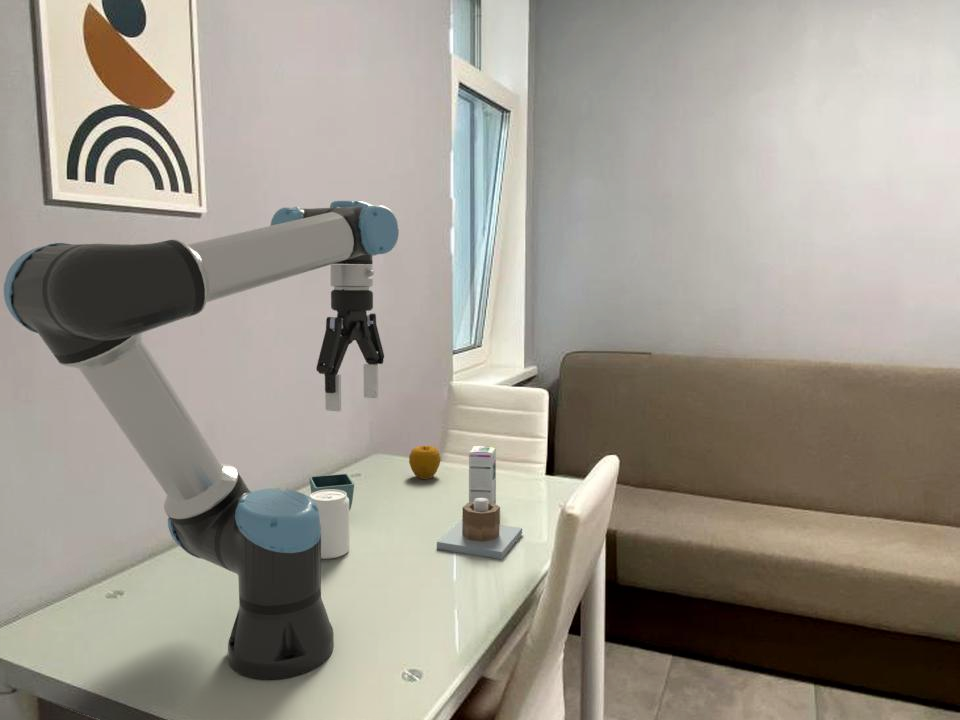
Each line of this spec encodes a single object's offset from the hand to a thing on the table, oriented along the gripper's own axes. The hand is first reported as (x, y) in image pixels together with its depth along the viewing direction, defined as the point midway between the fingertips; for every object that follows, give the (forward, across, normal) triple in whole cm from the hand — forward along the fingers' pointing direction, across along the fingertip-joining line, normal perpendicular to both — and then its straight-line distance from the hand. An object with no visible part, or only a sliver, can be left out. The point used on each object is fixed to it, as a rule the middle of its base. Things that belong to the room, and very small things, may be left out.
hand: (353, 404), depth 131 cm
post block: (+32, +21, -18) cm, 42 cm away
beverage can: (+32, +4, +8) cm, 33 cm away
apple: (+32, +58, +12) cm, 67 cm away
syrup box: (+32, +41, -11) cm, 53 cm away
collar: (+30, +21, -18) cm, 41 cm away
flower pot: (+32, +21, +18) cm, 42 cm away
